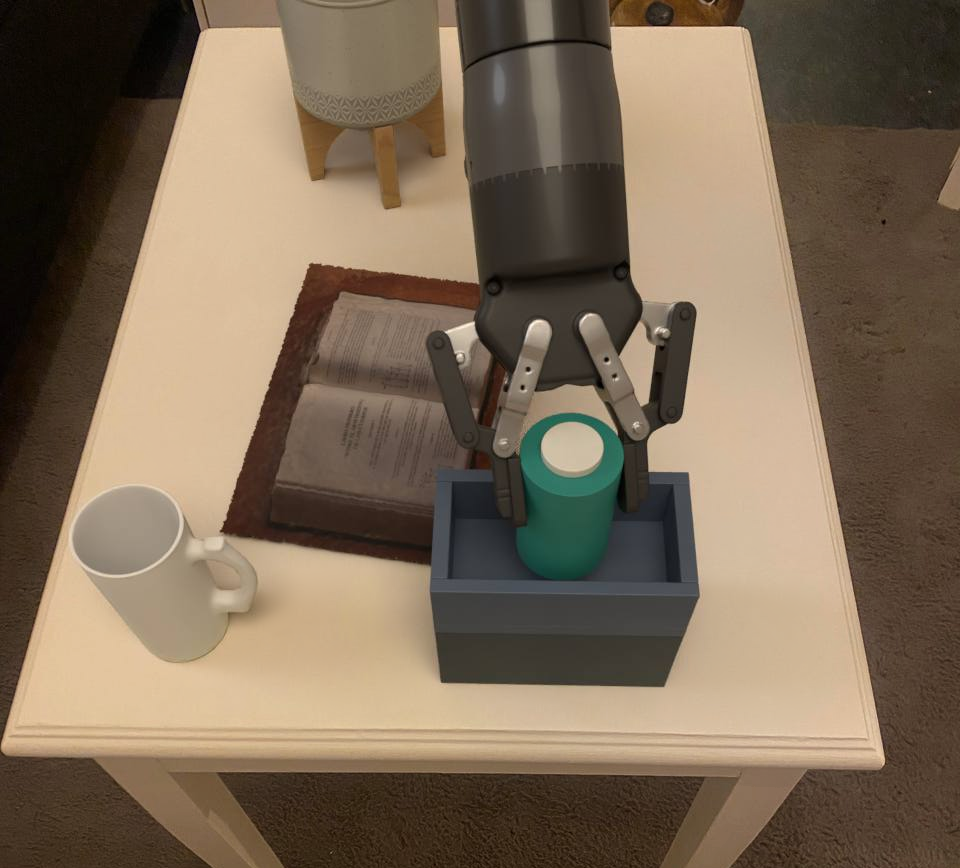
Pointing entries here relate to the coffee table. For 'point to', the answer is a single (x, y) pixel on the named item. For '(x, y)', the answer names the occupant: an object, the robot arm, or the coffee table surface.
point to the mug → (158, 570)
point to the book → (361, 417)
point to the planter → (364, 76)
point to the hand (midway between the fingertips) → (574, 516)
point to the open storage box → (560, 593)
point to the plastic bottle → (568, 494)
